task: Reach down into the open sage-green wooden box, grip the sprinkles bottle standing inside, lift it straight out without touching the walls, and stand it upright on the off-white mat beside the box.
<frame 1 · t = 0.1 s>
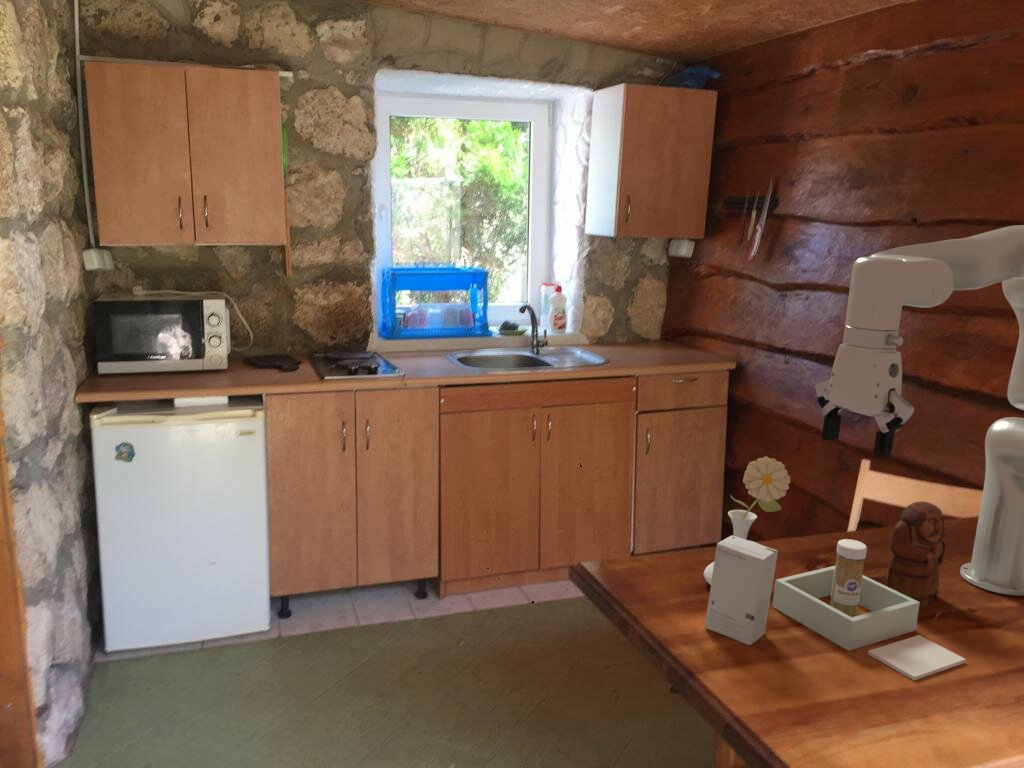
hand: (855, 447, 130), 31 cm above the table, tool pointing down, fingers open, 9 cm apart
skincare box: (736, 632, 134), on the table
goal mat: (916, 658, 128), on the table
open box: (842, 618, 140), on the table
flower in vase: (739, 588, 150), on the table
wooden figurine: (911, 599, 149), on the table
sprinkles bottle: (842, 619, 140), resting in open box
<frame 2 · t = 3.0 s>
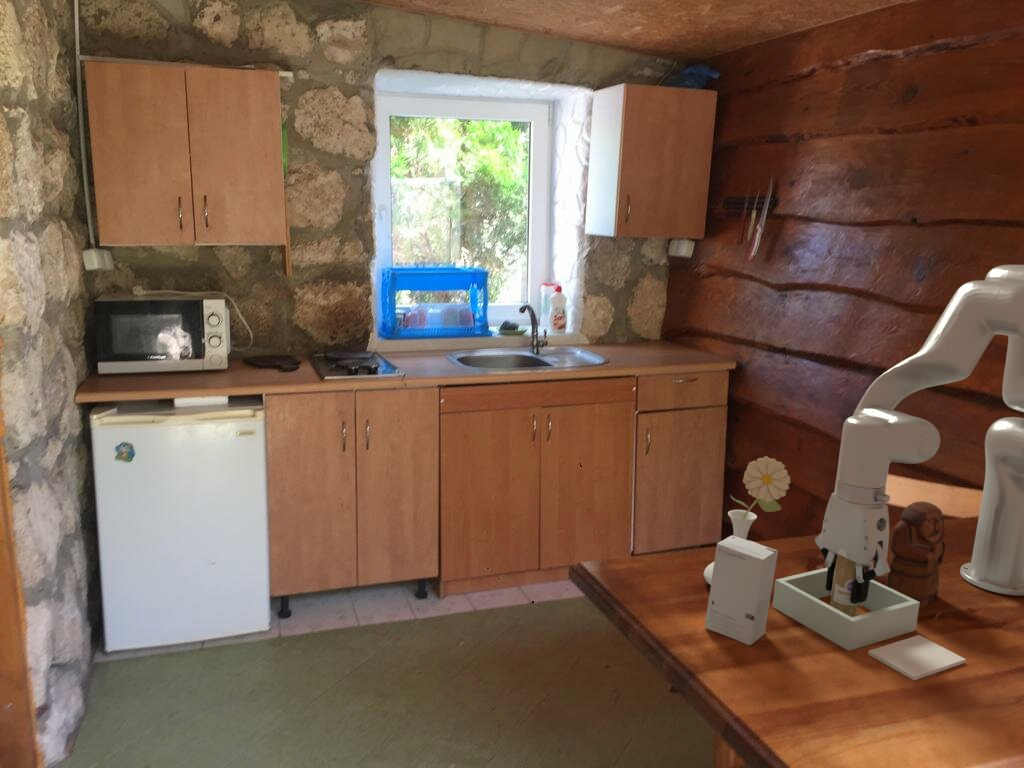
hand: (845, 594, 139), 4 cm above the table, tool pointing down, fingers closed on sprinkles bottle, 4 cm apart
sprinkles bottle: (842, 619, 140), resting in open box, touching gripper
everything else where it was.
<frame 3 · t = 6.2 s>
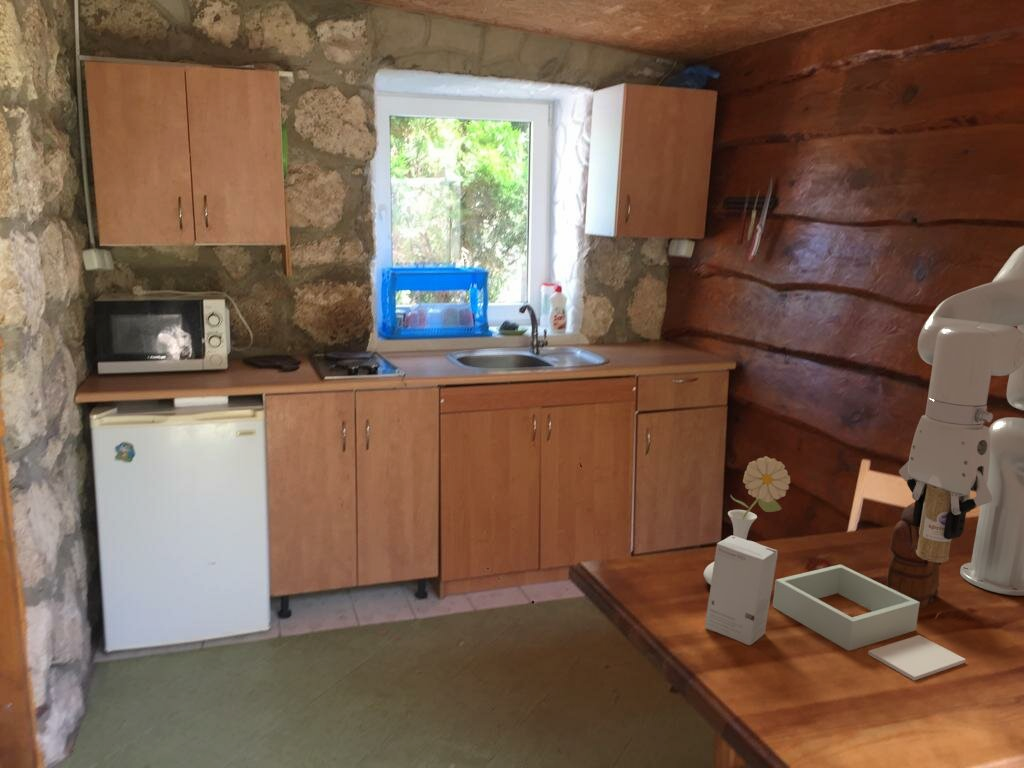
hand: (936, 530, 124), 21 cm above the table, tool pointing down, fingers closed on sprinkles bottle, 4 cm apart
sprinkles bottle: (931, 558, 125), point 16 cm above the table, touching gripper
everything else where it was.
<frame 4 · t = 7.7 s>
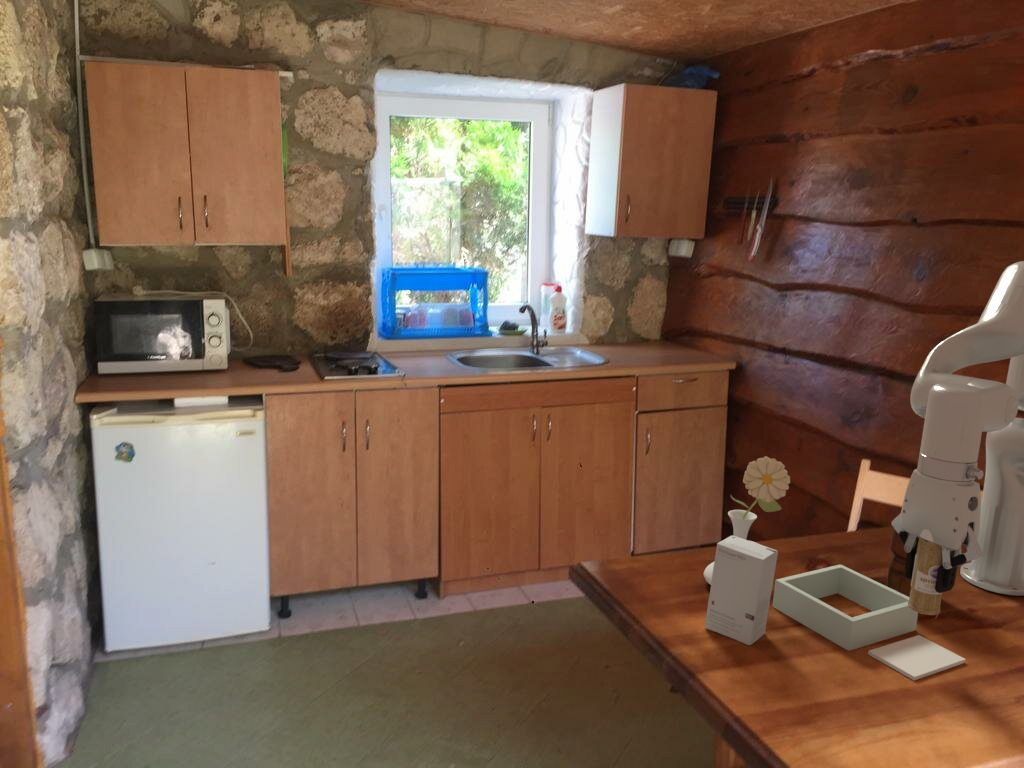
hand: (928, 582, 125), 13 cm above the table, tool pointing down, fingers closed on sprinkles bottle, 4 cm apart
sprinkles bottle: (923, 610, 126), point 8 cm above the table, touching gripper
everything else where it was.
when the fingers open (6 cm above the table, at t = 9.3 s): sprinkles bottle stays where it is, resting on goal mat.
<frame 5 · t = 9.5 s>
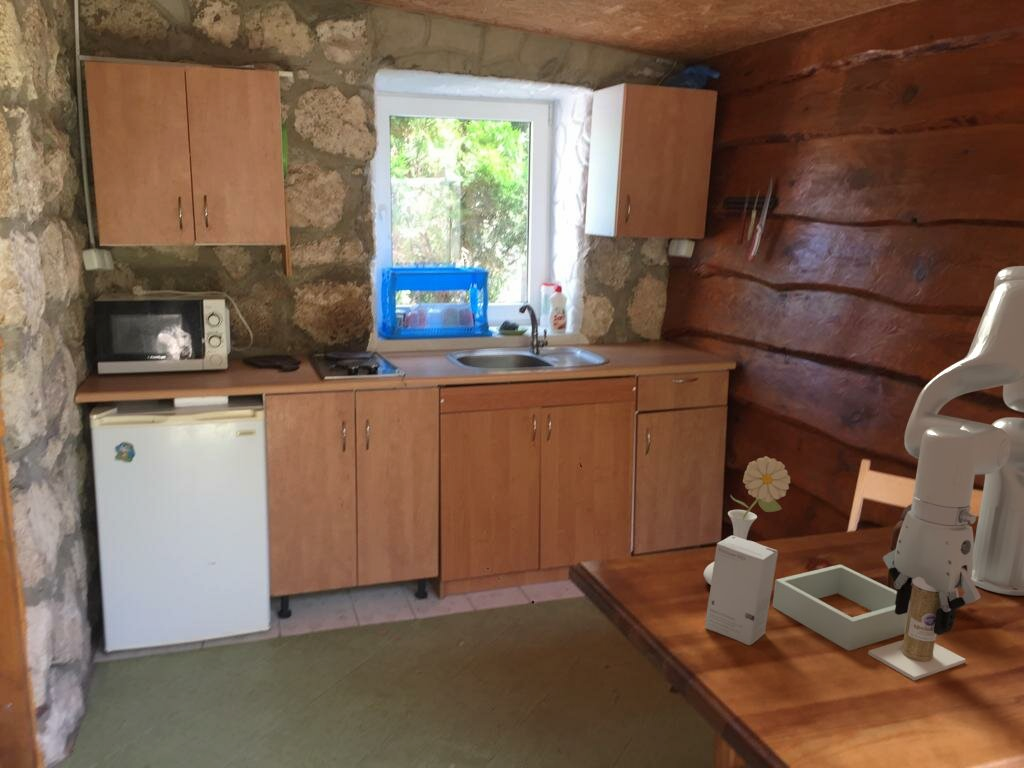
hand: (922, 621, 127), 6 cm above the table, tool pointing down, fingers open, 6 cm apart
sprinkles bottle: (916, 655, 128), resting on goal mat
everything else where it was.
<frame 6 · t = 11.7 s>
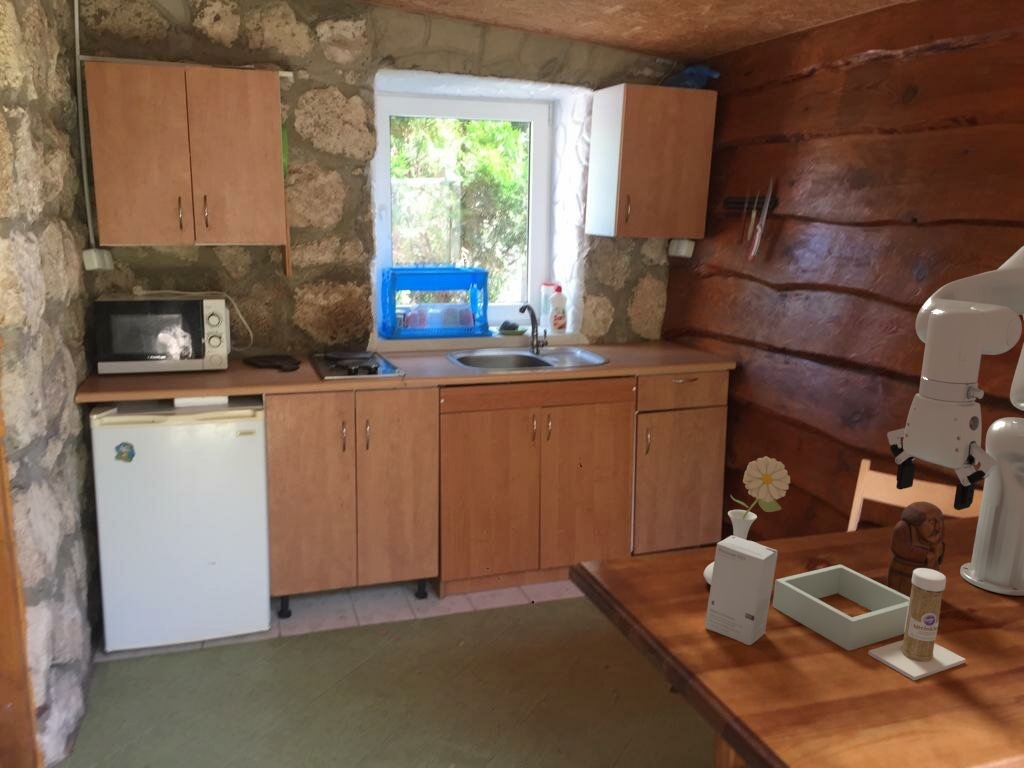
hand: (932, 497, 129), 24 cm above the table, tool pointing down, fingers open, 9 cm apart
nothing on the table moved.
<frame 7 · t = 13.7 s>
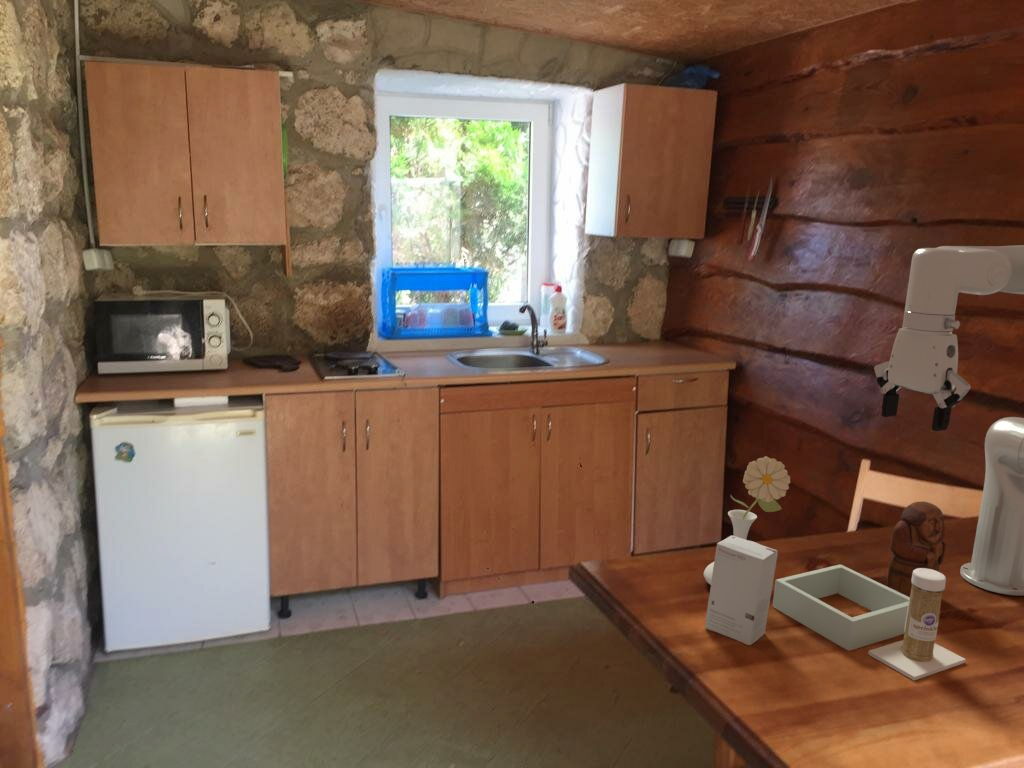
hand: (913, 422, 142), 32 cm above the table, tool pointing down, fingers open, 9 cm apart
nothing on the table moved.
at the end: sprinkles bottle inside the target area on the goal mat (0.1 cm from its centre), point 0.4 cm above the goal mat's base; sprinkles bottle tilted 0°; the gripper is holding nothing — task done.
